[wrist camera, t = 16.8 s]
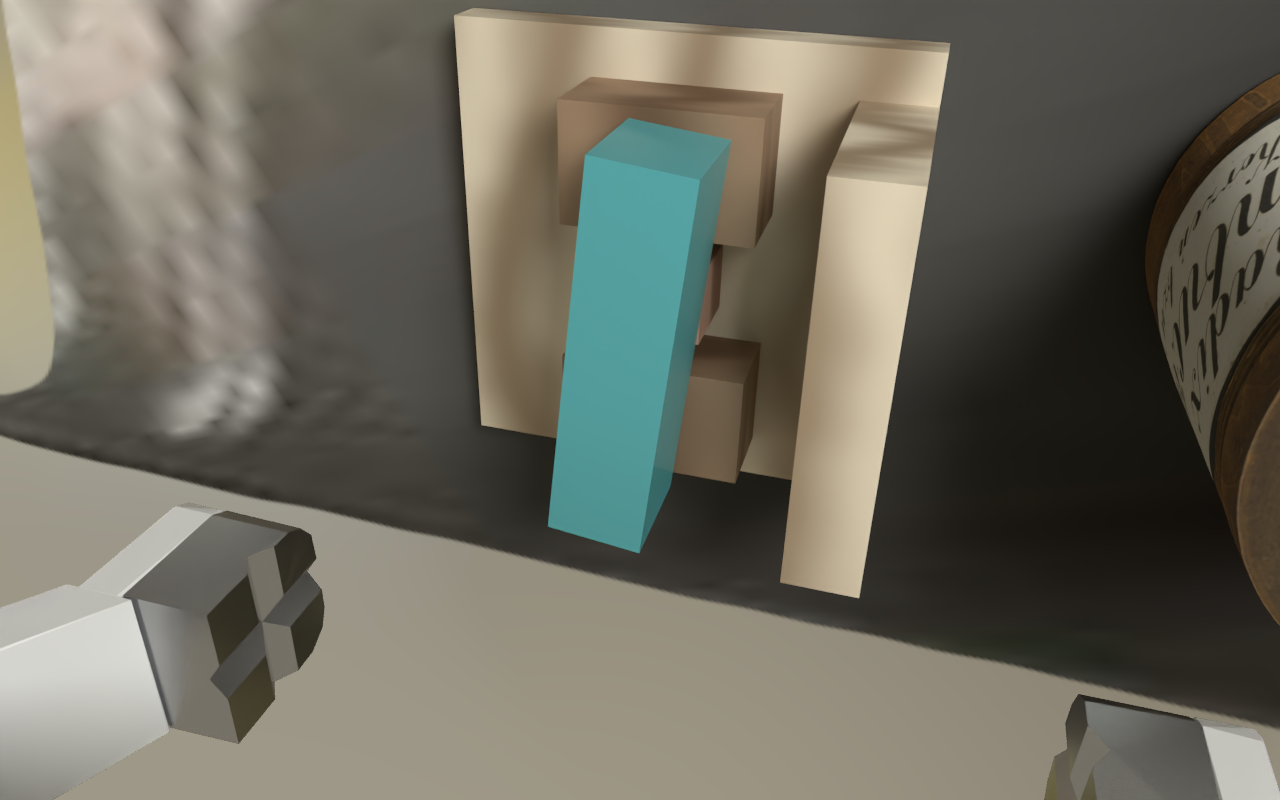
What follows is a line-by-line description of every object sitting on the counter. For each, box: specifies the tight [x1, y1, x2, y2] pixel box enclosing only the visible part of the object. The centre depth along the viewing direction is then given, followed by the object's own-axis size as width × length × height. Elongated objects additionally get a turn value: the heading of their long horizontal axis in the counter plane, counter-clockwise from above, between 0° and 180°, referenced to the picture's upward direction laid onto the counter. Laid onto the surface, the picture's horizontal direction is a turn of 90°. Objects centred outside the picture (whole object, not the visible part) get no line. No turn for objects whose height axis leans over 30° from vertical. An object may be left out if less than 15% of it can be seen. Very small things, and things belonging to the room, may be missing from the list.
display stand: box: [454, 8, 950, 598], centre depth 42 cm, size 20×20×12 cm
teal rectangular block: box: [548, 118, 732, 553], centre depth 40 cm, size 4×16×5 cm, turn 172°
